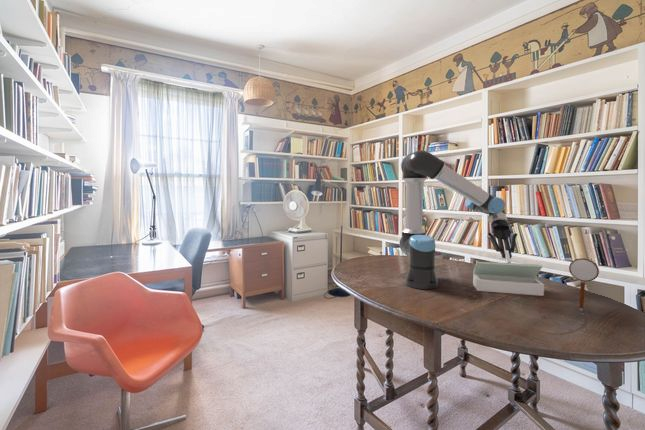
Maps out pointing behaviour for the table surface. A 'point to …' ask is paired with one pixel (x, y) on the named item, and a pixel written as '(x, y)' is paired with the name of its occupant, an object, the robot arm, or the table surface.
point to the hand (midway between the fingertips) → (508, 263)
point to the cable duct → (508, 284)
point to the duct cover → (507, 269)
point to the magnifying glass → (583, 274)
